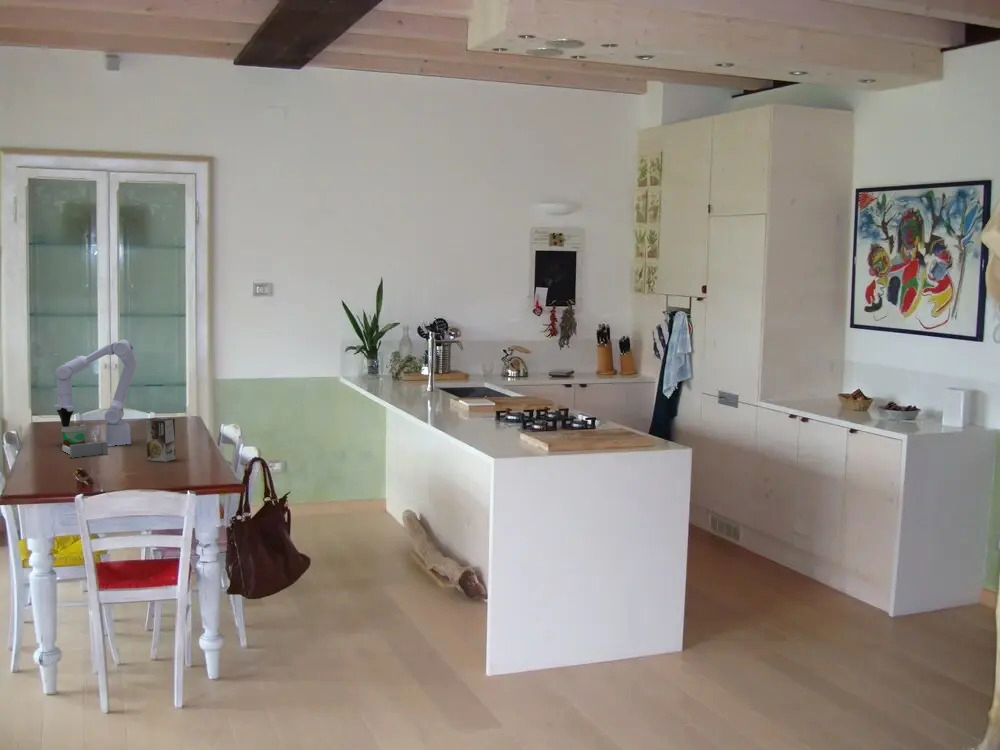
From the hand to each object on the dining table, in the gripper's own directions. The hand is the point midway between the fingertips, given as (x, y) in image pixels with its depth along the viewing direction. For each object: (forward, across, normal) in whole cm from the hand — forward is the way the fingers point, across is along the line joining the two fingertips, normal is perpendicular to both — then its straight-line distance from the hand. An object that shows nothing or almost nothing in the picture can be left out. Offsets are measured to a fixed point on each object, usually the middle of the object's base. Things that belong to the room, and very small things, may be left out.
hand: (65, 426), depth 432 cm
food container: (+8, +11, +1) cm, 14 cm away
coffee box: (+8, +52, +20) cm, 56 cm away
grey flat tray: (+8, +22, 0) cm, 23 cm away
